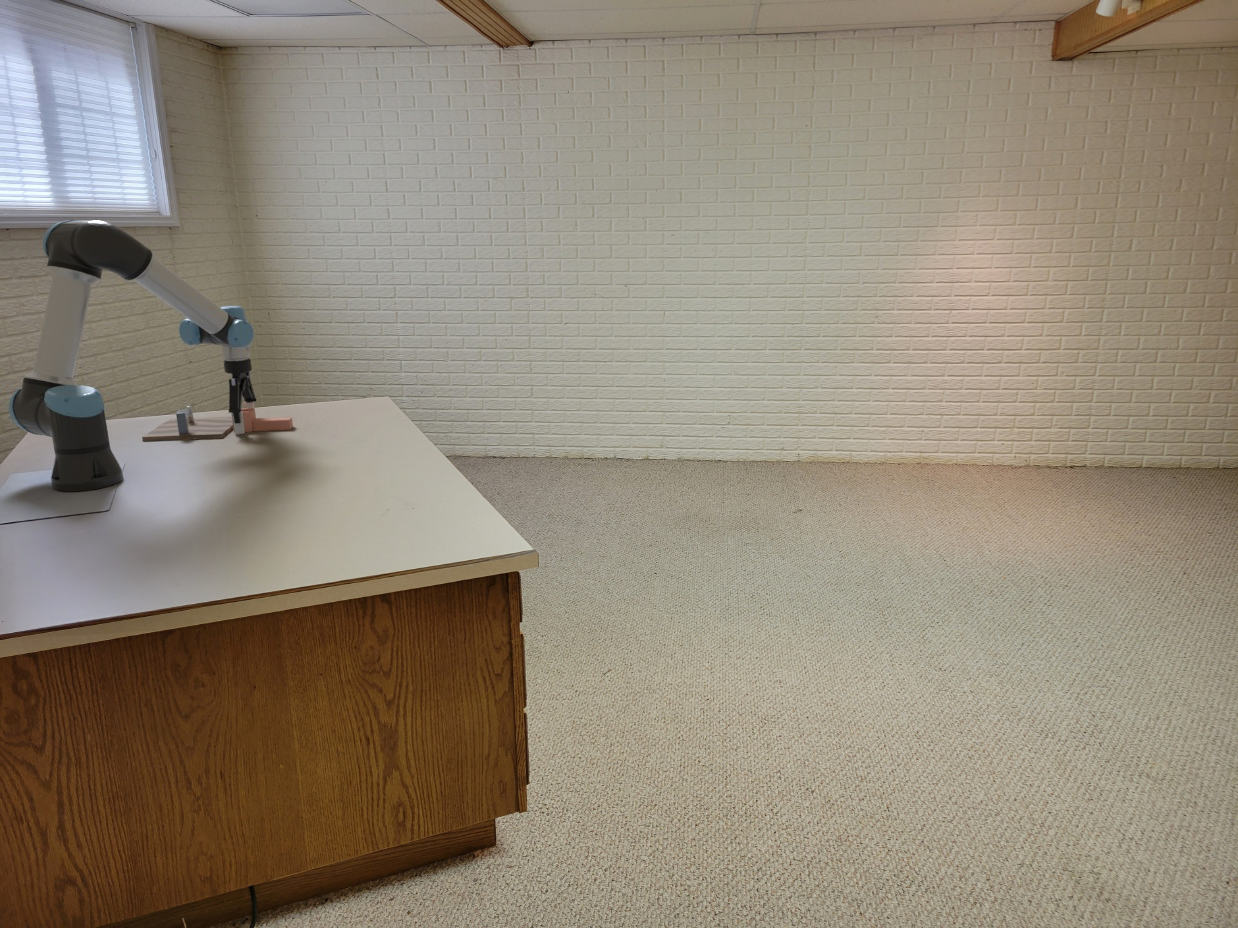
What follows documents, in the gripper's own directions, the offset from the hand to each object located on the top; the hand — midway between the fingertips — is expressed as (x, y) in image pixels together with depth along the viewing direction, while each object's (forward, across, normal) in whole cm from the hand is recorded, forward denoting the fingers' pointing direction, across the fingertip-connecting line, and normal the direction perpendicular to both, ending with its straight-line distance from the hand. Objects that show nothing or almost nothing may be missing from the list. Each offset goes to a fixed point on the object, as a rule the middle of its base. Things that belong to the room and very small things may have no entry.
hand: (245, 428), depth 271 cm
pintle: (0, +8, +18) cm, 20 cm away
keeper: (0, -5, +16) cm, 17 cm away
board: (0, +2, +15) cm, 15 cm away
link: (0, 0, -5) cm, 5 cm away
